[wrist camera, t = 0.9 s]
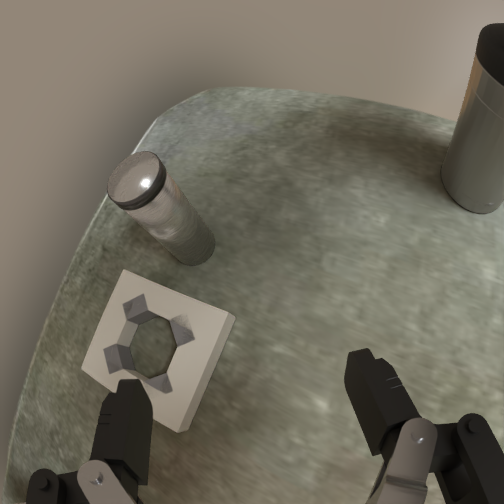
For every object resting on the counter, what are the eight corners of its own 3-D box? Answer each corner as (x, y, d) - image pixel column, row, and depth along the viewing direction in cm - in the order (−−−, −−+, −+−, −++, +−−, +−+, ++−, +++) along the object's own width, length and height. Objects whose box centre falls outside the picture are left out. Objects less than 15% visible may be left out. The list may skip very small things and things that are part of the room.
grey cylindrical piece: (186, 221, 38) (127, 148, 26) (223, 231, 37) (170, 153, 24) (167, 259, 37) (96, 196, 24) (204, 272, 35) (138, 208, 23)
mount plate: (134, 276, 37) (123, 269, 35) (235, 317, 32) (228, 312, 30) (94, 370, 33) (80, 368, 31) (188, 430, 28) (177, 432, 26)
